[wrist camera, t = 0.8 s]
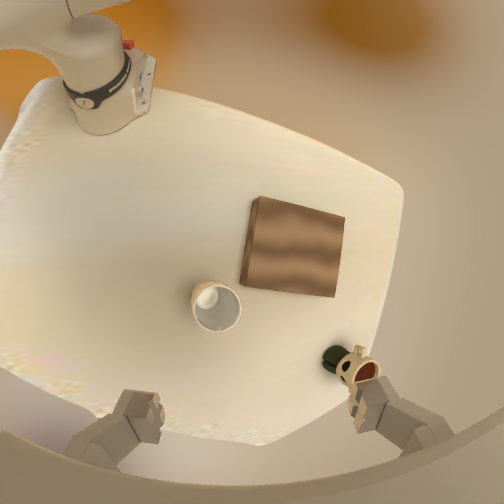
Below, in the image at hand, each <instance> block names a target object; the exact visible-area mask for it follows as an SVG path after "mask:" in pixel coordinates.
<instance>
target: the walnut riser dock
mask: <svg viewBox="0 0 504 504" xmlns="http://www.w3.org/2000/svg"><path fill="white" fill-rule="evenodd" d="M344 223H345V217H341V216H337V215H334V214H330V213H326V212H323V211H319V210H315V209H311V208H307V207H304V206H300V205H296V204H292V203H288V202H283V201H279V200H275V199H271V198H267V197H262V196H260V197H258V198H257V199H255V200H254V201H253V202H252V209H251V215H250V221H249V227H248V233H247V239H246V246H245V252H244V258H243V265H242V271H241V277H240V283H239V284H241V285H244V286H247V287H254V288H261V289H269V290H276V291H284V292H292V293H300V294H308V295H316V296H324V297H333V298H335V292H336V285H337V279H338V272H339V265H340V257H341V249H342V241H343V232H344Z"/></svg>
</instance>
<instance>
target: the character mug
mask: <svg viewBox="0 0 504 504" xmlns="http://www.w3.org/2000/svg"><path fill="white" fill-rule="evenodd" d="M359 351H361V353H359ZM323 359H325V360H326V364H325V363H322V364H323V366H324V368H325V369H326V370H328V371H330V372H332V373H334V374H337V377H338V379H339V380H340V382H341V383H342V384H344V385H346V386H347V387H349V392H350V393H352V391H351V386H352V383H353V382H358V381H362V380H367V379H372V378H376V377H380V374H381V367H380V365H379V363H378V362H377V361H375V360H374V359H372V358H370V357H367V356H366V348H365V347H362V346H360V345H355V348H354V352H353V353H350V352H348V351H347V350H346V349H345V348H343V347H342V346H334V347H331V348H329V349H328V350H327V351H326V353H325V354H324V356H323Z"/></svg>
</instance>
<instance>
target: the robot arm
mask: <svg viewBox="0 0 504 504" xmlns="http://www.w3.org/2000/svg"><path fill="white" fill-rule="evenodd" d="M128 1H131V0H0V50H6V49H22V50H28V51H31V52H35V53H38V54H40V55H42V56H44V57H46V58H47V59H49V60H50V61H51V62H52V63H53V64H54V65H55V67H56V68H57V70H58V71H59V72H60V74H61V76H62V78H63V84H64V88H65V90H66V91H67V93H68V95H69V98H70V103H69V104H70V107H71V109H72V110H73V111H74V112H75V114H76V117H77V121H78V124H79V126H80V127H81V128H82V129H83V130H84V131H86V132H88V133H90V134H94V135H105V134H109V133H113V132H115V131H117V130H119V129H121V128H123V127H124V126H125V125H127V124H128V123H129V122H130V121H131V120H133V119H134V118H136V117H139V116H142V115H144V114H146V113H147V112H148V111H149V107H150V99H151V93H152V86H153V80H154V74H155V69H156V59H154V58H153V57H152V56H150V55H147V54H145V53H144V52H143V51H142V50H140V49H138V48H134V47H133V46H134V41H133V40H130V41H126V40H124V41H123V42H122V36H121V30H120V28H119V26H118V25H117V23H115V22H114V21H113V20H111V19H110V18H108V17H106V16H103V15H95V14H89V13H92V12H95V11H98V10H102V9H105V8H108V7H112V6H115V5H119V4H123V3H126V2H128ZM146 58H147V59H146ZM143 103H145V104H144V105H142V104H143ZM351 391H352V393H351V394H350V395H349V398H348V409H349V413H350V415H351V416H353V417H354V418H355V419H354V425H355V428H356V430H357V433H363V432H367V431H372V430H376V431H377V432H379V433H380V434H381V435H382V436H384V437H385V438H386V439H388V440H389V441H391V442H392V443H393V444H395V445H396V446H398V447H399V448H400V449H402V450H403V451H402V453H401V454H400V456H399V458H397V459H394V460H392V461H388V462H386V463H382V464H379V465H376V466H372V467H369V468H365V469H361V470H357V471H353V472H349V473H345V474H340V475H335V476H329V477H324V478H318V479H313V480H306V481H298V482H290V483H280V484H267V485H247V486H222V485H221V486H220V485H199V484H187V483H177V482H169V481H161V480H155V479H148V478H143V477H138V476H132V475H128V474H123V473H121V472H120V471H119V469H118V468H117V467H116V465H117V464H118V463H119V462H120V461H121V460H122V459H123V458H125V457H126V456H127V455H128V454H129V453H130V452H131V451H132V450H133V449H134V448H135V447H137V446H138V445H139V444H140V442H144V443H153V444H158V443H159V439H160V436H161V431H160V429H159V428H160V427H162V426H163V425H164V421H165V412H164V408H163V406H162V405H161V404H160V403H159V401H160V397H159V395H158V393H154V392H145V391H137V390H128V389H125V390H124V391H123V392H122V394H121V396H120V398H119V400H118V402H117V404H116V406H115V409H114V411H113V413H112V414H108V415H106V416H105V417H103V418H101V419H100V420H98V421H97V422H95V423H93V424H92V425H90V426H89V427H87V428H85V429H84V430H82V431H80V432H79V433H77V434H75V435H74V436H72V438H71V440H70V442H69V444H68V445H67V447H66V450H65V451H64V453H63V455H60V454H57V453H55V452H52V451H50V450H48V449H45V448H43V447H41V446H38V445H36V444H34V443H32V442H29V441H27V440H25V439H23V438H21V437H19V436H17V435H15V434H14V433H12V432H9V431H7V430H2V431H0V504H504V407H502V408H500V409H499V410H497V411H496V412H494V413H493V414H491V415H489V416H488V417H486V418H484V419H483V420H481V421H479V422H478V423H476V424H474V425H472V426H471V427H469V428H467V429H465V430H463V431H461V432H459V433H457V434H454V433H453V431H452V430H451V428H450V427H449V425H448V424H447V422H446V421H445V419H444V418H443V417H442V416H440V415H438V414H435V413H433V412H431V411H429V410H427V409H425V408H423V407H420V406H418V405H416V404H414V403H412V402H410V401H408V400H406V399H404V398H402V399H400V397H399V396H398V394H397V392H396V391H395V389H394V388H393V386H392V384H391V383H390V381H389V380H388V378H387V377H386V376H381V377H376V378H372V379H367V380H362V381H358V382H353V383H352V386H351Z"/></svg>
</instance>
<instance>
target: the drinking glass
mask: <svg viewBox="0 0 504 504" xmlns="http://www.w3.org/2000/svg"><path fill="white" fill-rule="evenodd" d="M241 308H242V307H241V302H240V299H239V297H238V295H237V294H236V293H235V292H234V291H233V290H232V289H231V288H230V287H228V286H227V285H225V284H222V283H219V282H210V281H202V282H200V283H198V284H197V285H196V286H195V287H194V288H193V291H192V298H191V310H192V314H193V316H194V318H195V320H196V322H197V323H198V324H199V325H200V326H201V327H202V328H203V329H205V330H207V331H209V332H214V333H220V332H225V331H227V330H229V329H231V328H232V327H233V326H234V325H235V324H236V323H237V322H238V320H239V318H240V315H241Z"/></svg>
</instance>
